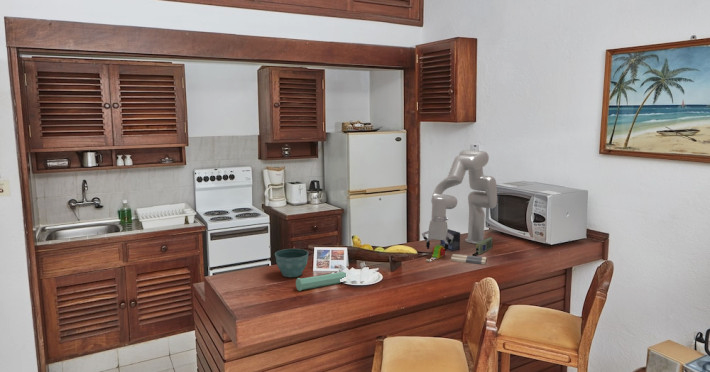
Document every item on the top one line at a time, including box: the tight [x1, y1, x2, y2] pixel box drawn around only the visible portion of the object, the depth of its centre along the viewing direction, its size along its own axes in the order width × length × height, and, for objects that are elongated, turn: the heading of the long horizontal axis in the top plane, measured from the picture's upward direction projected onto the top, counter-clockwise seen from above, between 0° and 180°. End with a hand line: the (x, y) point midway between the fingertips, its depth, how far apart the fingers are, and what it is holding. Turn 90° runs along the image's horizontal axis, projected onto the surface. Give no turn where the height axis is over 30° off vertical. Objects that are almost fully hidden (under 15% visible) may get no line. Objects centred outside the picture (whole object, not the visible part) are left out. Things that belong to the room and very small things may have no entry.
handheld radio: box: [471, 236, 493, 256], centre depth 287 cm, size 7×3×25 cm
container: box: [295, 271, 347, 292], centre depth 228 cm, size 6×6×25 cm
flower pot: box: [274, 248, 309, 278], centre depth 242 cm, size 16×16×11 cm
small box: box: [439, 228, 461, 252], centre depth 293 cm, size 11×6×10 cm, turn 33°
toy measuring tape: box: [425, 244, 446, 263], centre depth 274 cm, size 6×20×7 cm, turn 144°
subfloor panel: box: [450, 253, 487, 265], centre depth 270 cm, size 9×18×2 cm, turn 72°
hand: (437, 249), depth 274 cm, fingers open, 9 cm apart
